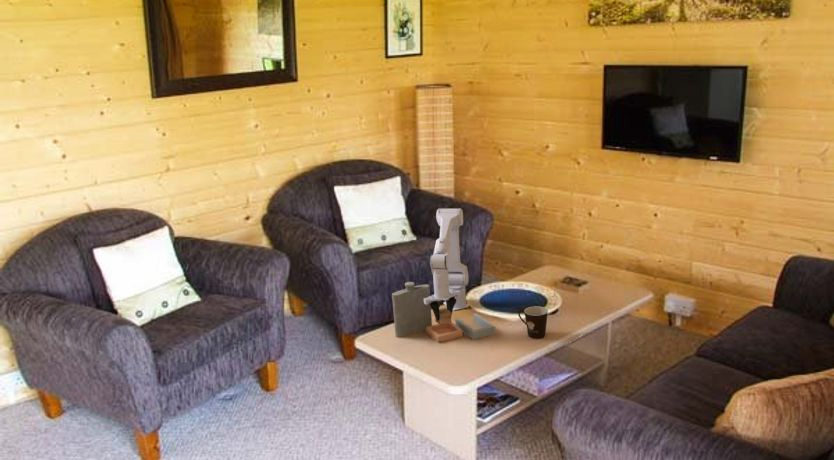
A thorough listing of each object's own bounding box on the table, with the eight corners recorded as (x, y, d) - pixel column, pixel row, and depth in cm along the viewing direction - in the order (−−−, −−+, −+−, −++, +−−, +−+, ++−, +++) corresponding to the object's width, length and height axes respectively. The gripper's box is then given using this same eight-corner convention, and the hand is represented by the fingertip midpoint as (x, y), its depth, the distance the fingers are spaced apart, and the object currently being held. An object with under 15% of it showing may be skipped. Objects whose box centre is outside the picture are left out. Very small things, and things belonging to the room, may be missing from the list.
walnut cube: (435, 321, 294) (435, 310, 292) (446, 318, 295) (445, 307, 294) (440, 325, 290) (440, 314, 288) (451, 322, 291) (450, 311, 290)
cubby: (455, 325, 301) (455, 318, 300) (476, 320, 305) (476, 313, 304) (473, 339, 288) (473, 332, 287) (495, 333, 292) (494, 326, 291)
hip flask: (397, 338, 294) (393, 289, 288) (393, 334, 297) (388, 286, 291) (433, 327, 301) (430, 279, 295) (428, 324, 304) (425, 277, 298)
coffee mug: (552, 337, 285) (552, 312, 282) (532, 342, 282) (531, 317, 279) (536, 325, 296) (536, 301, 293) (516, 330, 293) (516, 306, 290)
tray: (426, 332, 296) (426, 327, 296) (450, 326, 300) (450, 320, 300) (438, 342, 287) (437, 336, 287) (462, 336, 291) (462, 330, 291)
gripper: (428, 291, 281) (430, 325, 285) (463, 283, 287) (465, 316, 291) (420, 285, 288) (422, 319, 292) (454, 277, 293) (456, 310, 297)
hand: (443, 317), depth 292 cm, fingers closed on walnut cube, 4 cm apart
